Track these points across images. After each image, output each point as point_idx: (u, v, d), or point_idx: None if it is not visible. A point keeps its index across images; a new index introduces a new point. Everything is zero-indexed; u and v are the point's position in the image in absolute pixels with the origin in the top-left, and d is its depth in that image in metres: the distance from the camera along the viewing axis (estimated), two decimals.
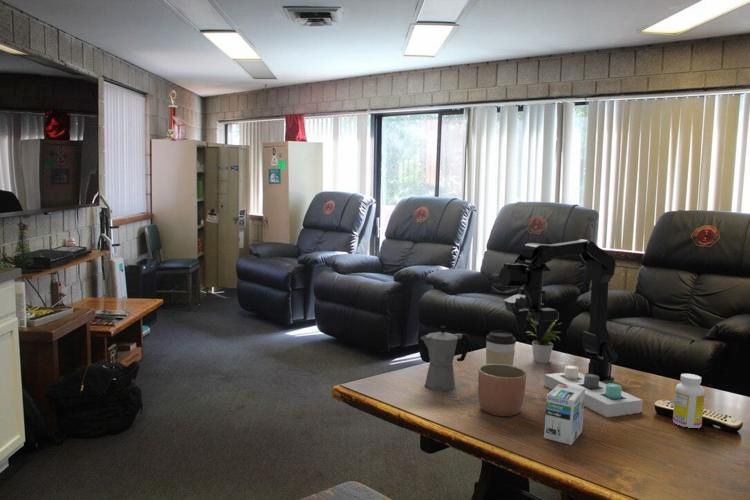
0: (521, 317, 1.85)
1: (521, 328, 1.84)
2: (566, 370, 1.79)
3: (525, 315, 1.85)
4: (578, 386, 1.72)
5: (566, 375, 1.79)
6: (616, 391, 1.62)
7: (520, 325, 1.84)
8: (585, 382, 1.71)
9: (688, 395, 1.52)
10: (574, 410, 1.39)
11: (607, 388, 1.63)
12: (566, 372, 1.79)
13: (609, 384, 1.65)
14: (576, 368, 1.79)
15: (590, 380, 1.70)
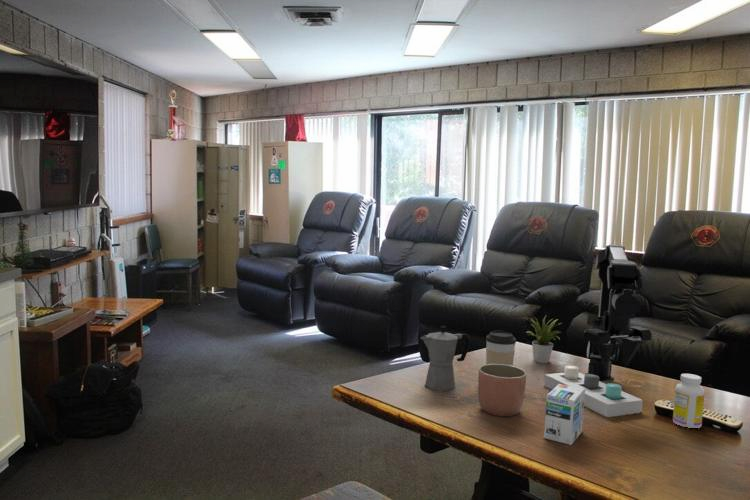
0: (628, 347, 1.64)
1: (625, 359, 1.64)
2: (566, 370, 1.79)
3: (633, 346, 1.62)
4: (578, 386, 1.72)
5: (566, 375, 1.79)
6: (616, 391, 1.62)
7: (625, 355, 1.65)
8: (585, 382, 1.71)
9: (688, 395, 1.52)
10: (574, 410, 1.39)
11: (607, 388, 1.63)
12: (566, 372, 1.79)
13: (609, 384, 1.65)
14: (576, 368, 1.79)
15: (590, 380, 1.70)
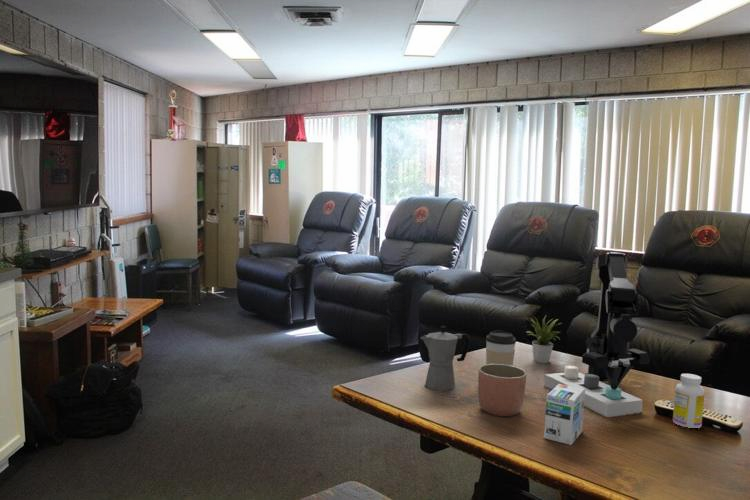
0: None
1: None
2: (566, 370, 1.79)
3: (622, 370, 1.62)
4: (578, 386, 1.72)
5: (566, 375, 1.79)
6: (616, 394, 1.62)
7: None
8: (585, 382, 1.71)
9: (688, 395, 1.52)
10: (574, 410, 1.39)
11: (607, 391, 1.64)
12: (566, 372, 1.79)
13: (609, 387, 1.65)
14: (576, 368, 1.79)
15: (590, 380, 1.70)
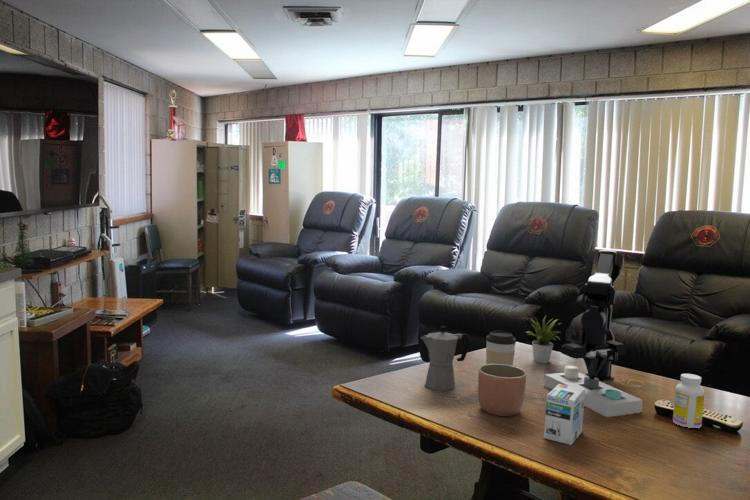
0: None
1: None
2: (566, 370, 1.79)
3: (599, 360, 1.70)
4: (578, 386, 1.72)
5: (566, 375, 1.79)
6: (616, 397, 1.62)
7: None
8: (585, 384, 1.71)
9: (688, 395, 1.52)
10: (574, 410, 1.39)
11: (606, 394, 1.64)
12: (566, 372, 1.79)
13: (608, 390, 1.65)
14: (576, 368, 1.79)
15: (590, 383, 1.70)
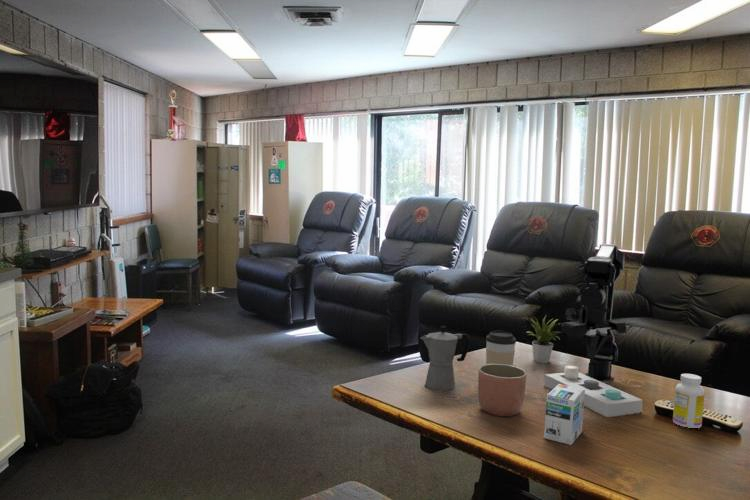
0: None
1: None
2: (566, 370, 1.79)
3: (600, 339, 1.70)
4: (578, 386, 1.72)
5: (566, 375, 1.79)
6: (616, 397, 1.62)
7: None
8: None
9: (688, 395, 1.52)
10: (574, 410, 1.39)
11: (606, 394, 1.64)
12: (566, 372, 1.79)
13: (608, 390, 1.65)
14: (576, 368, 1.79)
15: (590, 386, 1.70)
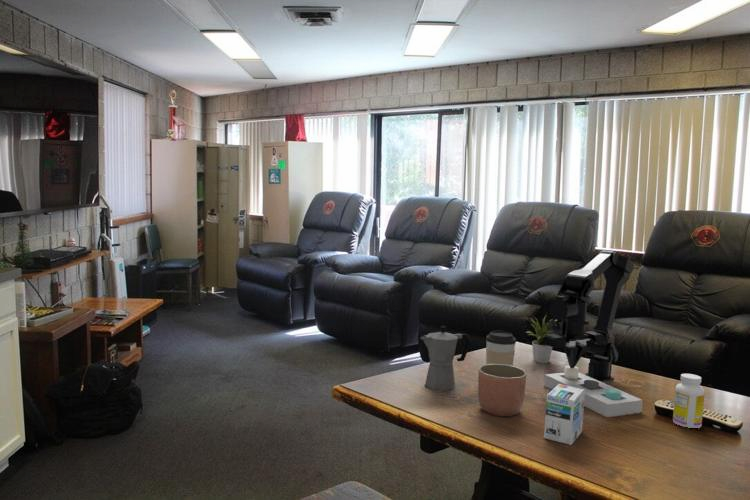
0: None
1: None
2: (566, 370, 1.79)
3: (579, 350, 1.77)
4: (578, 386, 1.72)
5: (566, 375, 1.79)
6: (616, 397, 1.62)
7: None
8: None
9: (688, 395, 1.52)
10: (574, 410, 1.39)
11: (606, 394, 1.64)
12: (566, 372, 1.79)
13: (608, 390, 1.65)
14: (576, 368, 1.79)
15: (590, 386, 1.70)
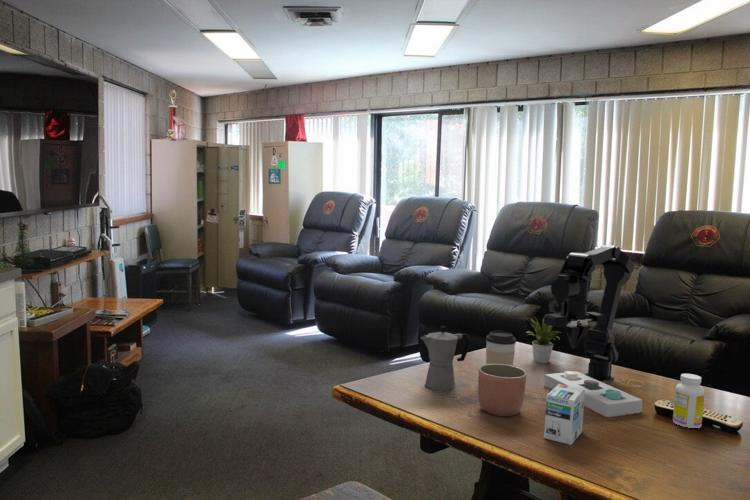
0: None
1: None
2: (566, 376, 1.79)
3: (580, 330, 1.77)
4: (578, 386, 1.72)
5: None
6: (616, 397, 1.62)
7: None
8: None
9: (688, 395, 1.52)
10: (574, 410, 1.39)
11: (606, 394, 1.64)
12: (566, 378, 1.79)
13: (608, 390, 1.65)
14: (576, 374, 1.79)
15: (590, 386, 1.70)
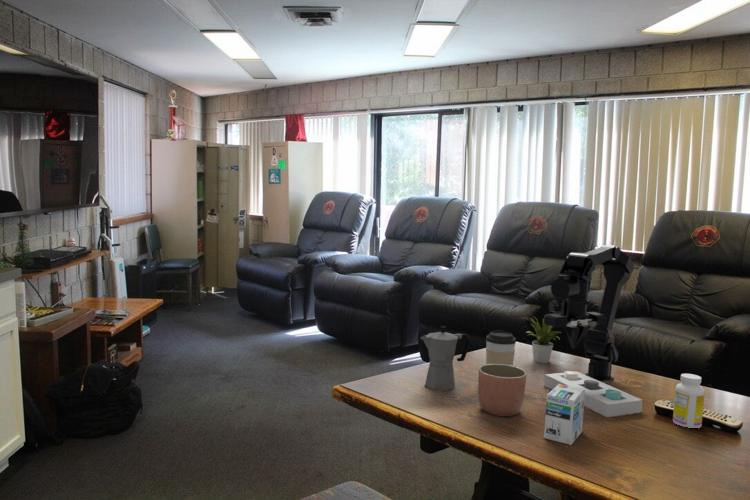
0: None
1: None
2: (566, 376, 1.79)
3: (580, 330, 1.77)
4: (578, 386, 1.72)
5: None
6: (616, 397, 1.62)
7: None
8: None
9: (688, 395, 1.52)
10: (574, 410, 1.39)
11: (606, 394, 1.64)
12: (566, 378, 1.79)
13: (608, 390, 1.65)
14: (576, 374, 1.79)
15: (590, 386, 1.70)
